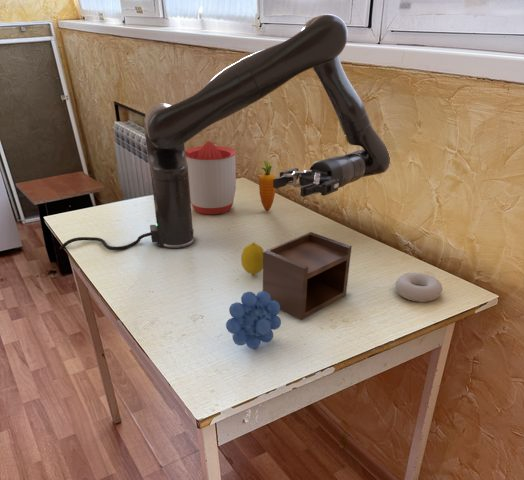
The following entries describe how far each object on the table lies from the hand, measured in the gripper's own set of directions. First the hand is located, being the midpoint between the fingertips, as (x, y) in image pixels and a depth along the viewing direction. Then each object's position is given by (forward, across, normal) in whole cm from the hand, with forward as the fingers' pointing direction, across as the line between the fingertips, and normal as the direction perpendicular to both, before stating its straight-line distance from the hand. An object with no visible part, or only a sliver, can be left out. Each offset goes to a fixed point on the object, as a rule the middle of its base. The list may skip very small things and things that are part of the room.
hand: (287, 187), depth 113 cm
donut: (-8, +32, +18) cm, 38 cm away
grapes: (+32, +23, +18) cm, 43 cm away
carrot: (-22, -28, +18) cm, 40 cm away
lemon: (+11, 0, +18) cm, 21 cm away
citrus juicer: (-11, -42, +18) cm, 47 cm away
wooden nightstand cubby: (+11, +16, +18) cm, 27 cm away
